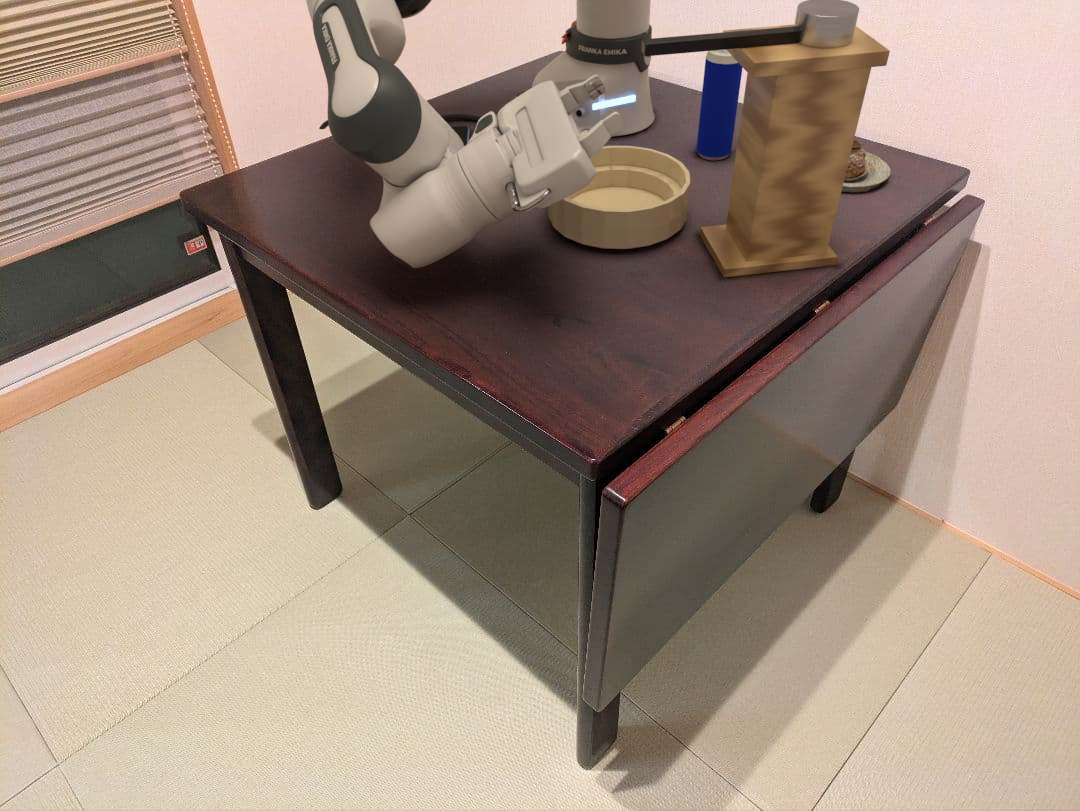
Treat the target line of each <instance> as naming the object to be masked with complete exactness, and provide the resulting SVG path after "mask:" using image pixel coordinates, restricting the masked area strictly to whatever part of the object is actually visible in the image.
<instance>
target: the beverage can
mask: <svg viewBox="0 0 1080 811" xmlns="http://www.w3.org/2000/svg"><path fill="white" fill-rule="evenodd" d="M705 55H706V56H705V61H704V72H703V79H702V80H703V81H702V91H701V100H700V111H699V120H698V131H697V137H696V138H697V139H696V148H695V149H696V150H695V151H696V152H697V154H698V156H699V157H701V158H702V159H705V160H708V161H721V160H724V159H726V158H727V157H729V155H730V154H731V153H732V148H733V141H734V134H735V127H736V119H737V113H738V111H737V110H738V104H739V98H740V97H739V96H740V90H741V81H742V74H743V69H744V68H743V67H742V66H741V65H740V64H739V63H738V62H737V61H736V60H735V59H734V57H733V56H732V55H731V54H730V53H729V52H728V51H727V50H726V49H725V50H713V51H707V53H706V54H705Z"/></svg>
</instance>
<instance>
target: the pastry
mask: <svg viewBox="0 0 1080 811" xmlns="http://www.w3.org/2000/svg"><path fill="white" fill-rule="evenodd" d="M891 171H892V170H891V167H890V166H889V164H888V163H887V162H886V161H885V160H883V159H882V158H880V157H879V156H877V155H876V154H873V153H871V152H868V151H865V150H864V149H863V148H862V143H861V142H859V141H858V140H854V141H853V146H852V150H851V154H850V158H849V162H848V166H847V170H846V174H845V179H844V183H843V187H842V191H841V193H842V192H843V193H861V192H862V193H863V192H869V191H871V190H872V189H875V188H877V187H879V186H880V185H881V184H882V183H884V182H885V181H886V180H888V179H889V178H890V177H891V173H892V172H891Z"/></svg>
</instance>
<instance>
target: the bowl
mask: <svg viewBox="0 0 1080 811" xmlns="http://www.w3.org/2000/svg"><path fill="white" fill-rule="evenodd" d="M590 159H591V161H592V163H593V166H594V168H595V170H596V176H595V177H594V178H593V180H592V181H591V182H590V183H589V184H588V185H587V186H585V187H584V188H582V189H580V190H579V191H577V192H575V193H573V194H572V195H570V196H568V197H566V198H564V199H562V200H561V201H559V202H557V203H555V204H553V205H550V206H548V207H547V213H548V214H547V216H548V218H549V221H550V223H551V226H552V228H554V229H555V230H556V231H557V232H559V233H560V235H562V236H563V237H564V238H567V239H569V240H572V241H574V242H577V243H579V244H581V245H583V246H589V247H595V248H600V249H609V250H610V249H612V250H614V249H616V250H628V249H636V248H642V247H649V246H652V245H654V244H657V243H660V242H663V241H665V240H666V241H667V240H668V239H669V238H671V237H673V236H674V235H675V234H677V233H678V232H679V231H681V230H682V228H683V227H684V225H685V223H686V221H687V220H688V211H689V200H690V191H691V172H690V170H689V169H688V168H687V167H686V166H685V164H684V163H683V162H682V161H680V160H678V159H677V158H675V157H674V156H671V155H670V154H669V153H665V152H662V151H659V150H657V149H656V150H655V149H653V148H650V147H649V148H647V147H642V146H635V145H604V146H603V148H602V149H601V150H600V151H599V152H598V153H596V154H595V155H593V156H592V157H590Z"/></svg>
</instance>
